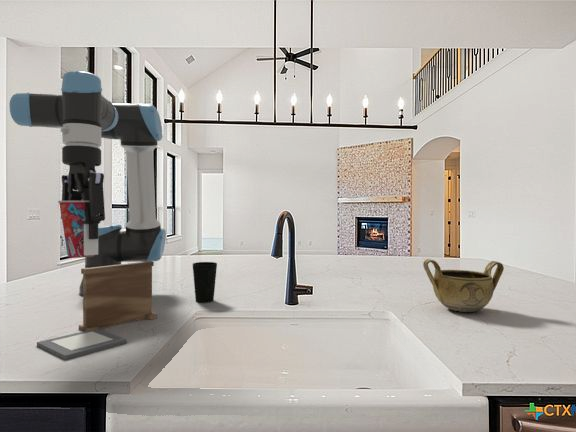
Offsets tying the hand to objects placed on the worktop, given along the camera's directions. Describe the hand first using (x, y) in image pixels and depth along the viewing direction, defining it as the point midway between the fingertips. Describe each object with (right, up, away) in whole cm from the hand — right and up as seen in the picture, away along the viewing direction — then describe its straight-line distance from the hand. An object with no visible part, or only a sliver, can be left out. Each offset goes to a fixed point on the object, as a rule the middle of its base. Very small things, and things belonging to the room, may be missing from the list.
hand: (82, 253), depth 89 cm
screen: (+1, -19, +17) cm, 26 cm away
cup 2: (+18, -19, +43) cm, 51 cm away
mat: (0, -20, 0) cm, 20 cm away
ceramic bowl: (+96, -20, +34) cm, 104 cm away
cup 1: (0, -1, 0) cm, 1 cm away
